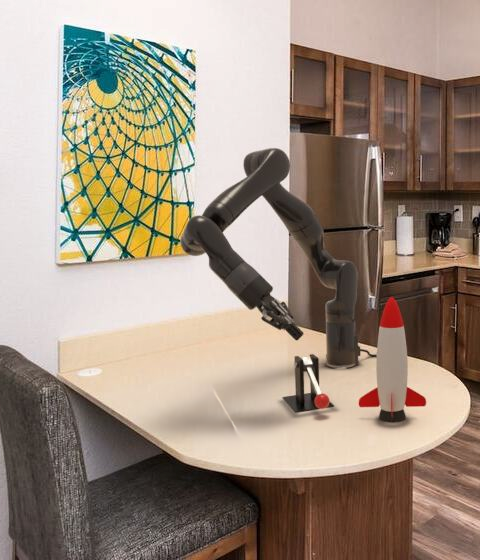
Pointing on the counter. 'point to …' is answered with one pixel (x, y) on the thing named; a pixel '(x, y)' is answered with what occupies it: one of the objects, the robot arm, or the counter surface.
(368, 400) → the toy rocket
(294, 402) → the bracket
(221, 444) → the counter surface
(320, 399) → the lever
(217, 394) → the counter surface
